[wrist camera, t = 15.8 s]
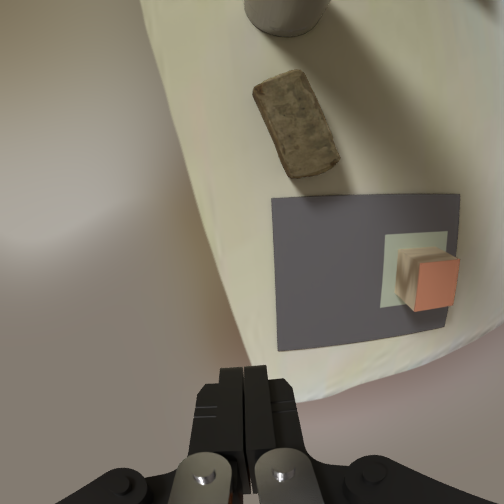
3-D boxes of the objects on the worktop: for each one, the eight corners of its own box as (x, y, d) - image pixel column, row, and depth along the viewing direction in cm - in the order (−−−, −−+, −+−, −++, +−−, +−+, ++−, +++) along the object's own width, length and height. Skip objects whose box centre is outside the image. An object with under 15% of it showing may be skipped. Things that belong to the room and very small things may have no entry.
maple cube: (460, 259, 33) (435, 246, 38) (420, 263, 33) (398, 249, 38) (452, 305, 34) (430, 287, 40) (414, 311, 34) (394, 292, 40)
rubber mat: (271, 198, 37) (271, 198, 36) (458, 194, 37) (460, 194, 36) (277, 349, 42) (278, 351, 42) (443, 325, 42) (444, 326, 42)
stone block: (294, 75, 33) (302, 63, 28) (333, 164, 36) (347, 166, 31) (248, 93, 33) (249, 83, 29) (288, 183, 36) (296, 187, 32)
